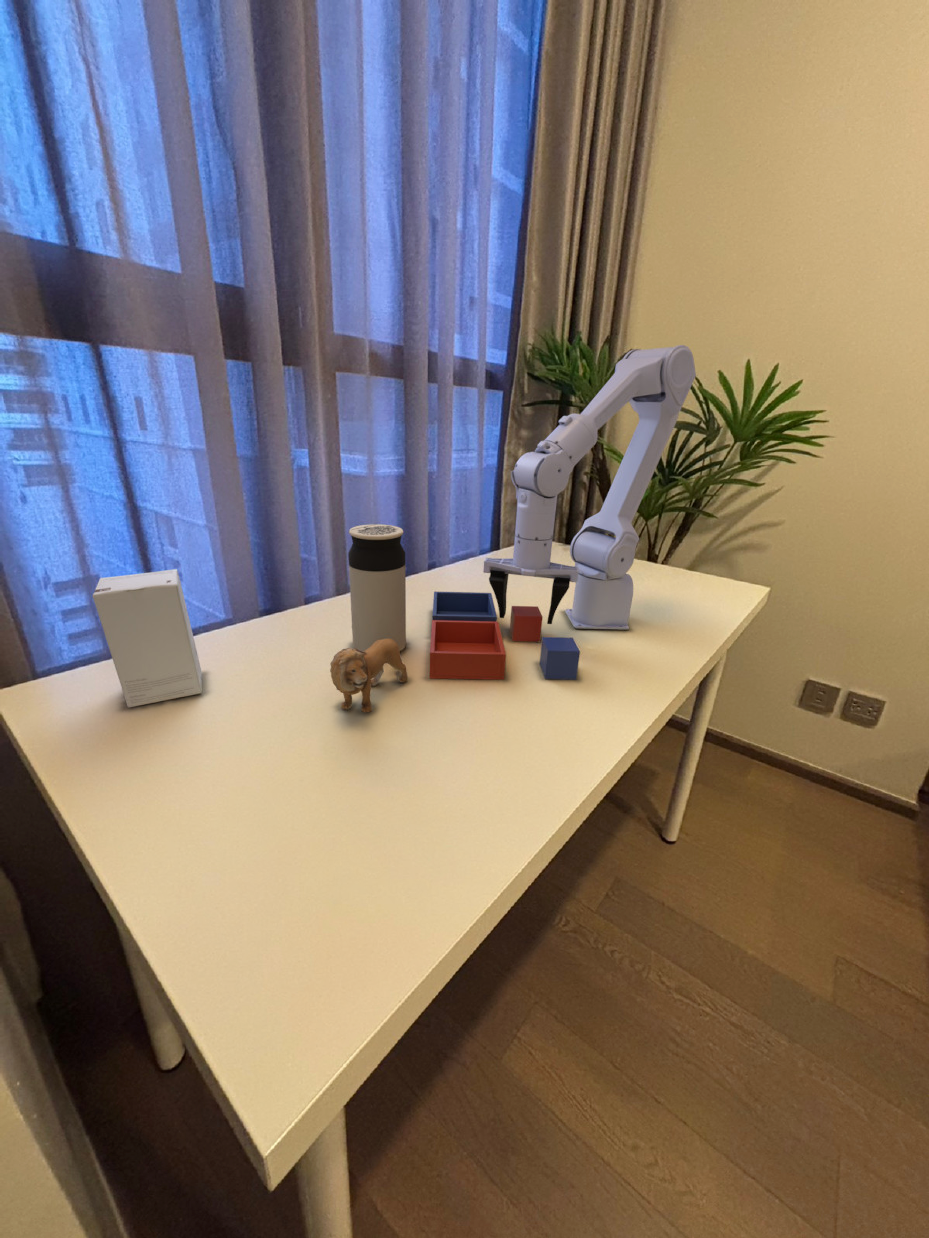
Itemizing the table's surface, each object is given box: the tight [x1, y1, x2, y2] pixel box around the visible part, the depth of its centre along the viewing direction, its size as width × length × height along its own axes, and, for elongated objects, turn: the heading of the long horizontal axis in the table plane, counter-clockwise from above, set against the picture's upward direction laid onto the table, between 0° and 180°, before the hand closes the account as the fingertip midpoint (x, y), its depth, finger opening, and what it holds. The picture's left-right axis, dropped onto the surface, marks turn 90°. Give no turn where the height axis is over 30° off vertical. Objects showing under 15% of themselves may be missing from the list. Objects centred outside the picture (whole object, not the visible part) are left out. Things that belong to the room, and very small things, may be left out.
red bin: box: [429, 619, 507, 681], centre depth 73 cm, size 10×11×4 cm
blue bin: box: [431, 590, 498, 622], centre depth 85 cm, size 10×11×4 cm
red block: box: [509, 605, 543, 643], centre depth 82 cm, size 4×4×4 cm
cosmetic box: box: [92, 568, 203, 708], centre depth 60 cm, size 8×6×15 cm
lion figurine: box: [329, 639, 408, 713], centre depth 62 cm, size 15×5×9 cm, turn 162°
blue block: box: [539, 636, 581, 680], centre depth 71 cm, size 4×4×4 cm
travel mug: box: [347, 523, 407, 652], centre depth 74 cm, size 8×8×18 cm
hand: (526, 618), depth 81 cm, fingers open, 7 cm apart
